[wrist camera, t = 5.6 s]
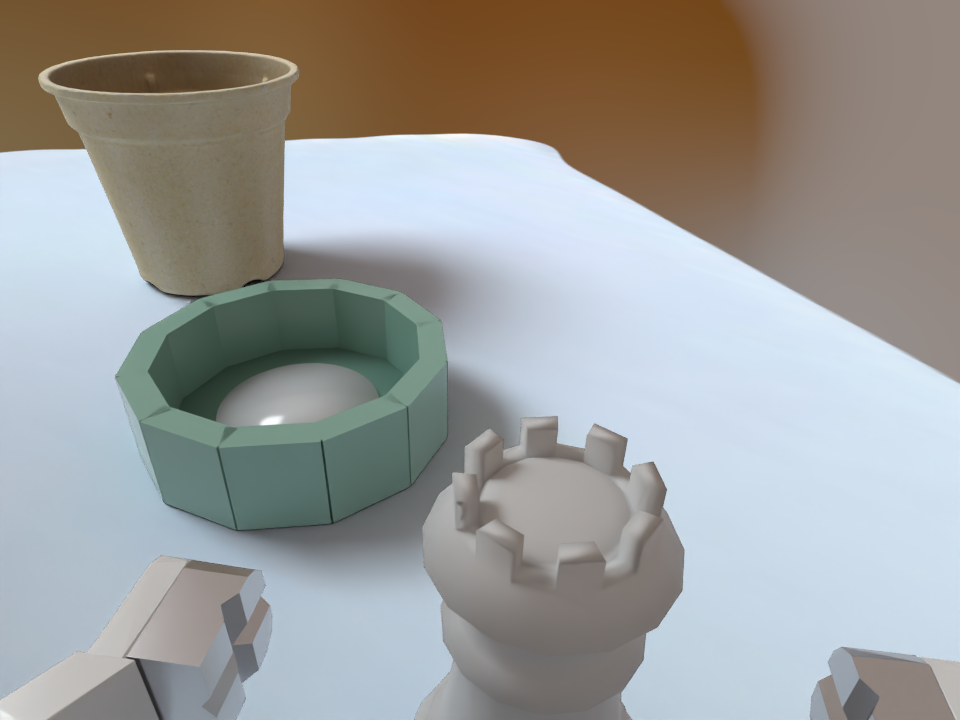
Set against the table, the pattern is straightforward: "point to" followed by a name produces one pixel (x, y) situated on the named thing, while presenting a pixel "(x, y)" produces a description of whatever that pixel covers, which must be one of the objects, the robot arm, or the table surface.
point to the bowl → (288, 401)
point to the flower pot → (187, 158)
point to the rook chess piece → (548, 576)
